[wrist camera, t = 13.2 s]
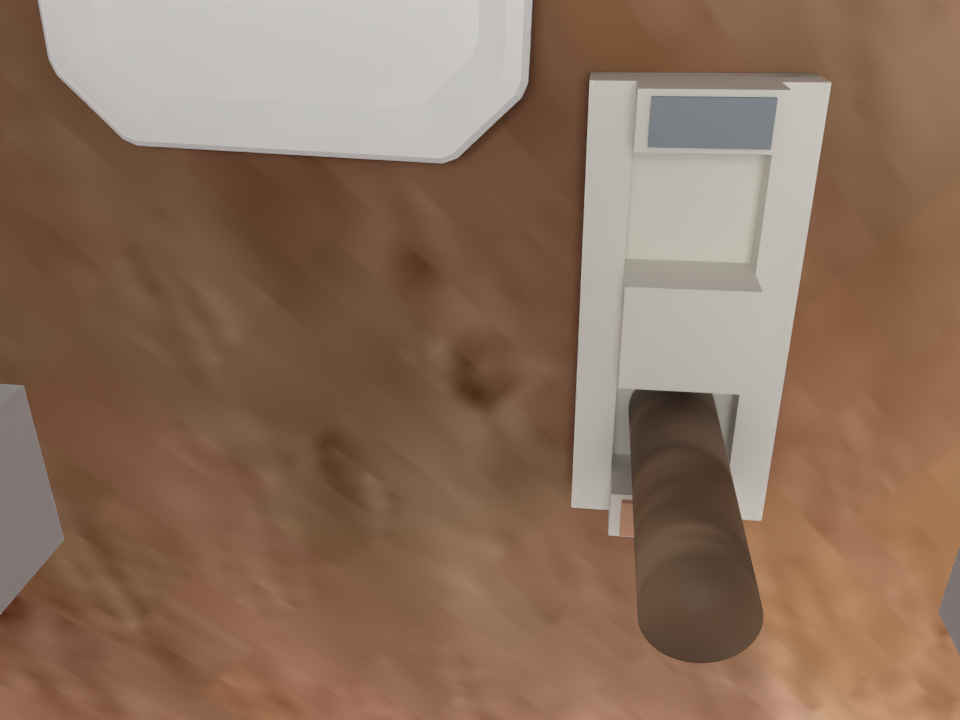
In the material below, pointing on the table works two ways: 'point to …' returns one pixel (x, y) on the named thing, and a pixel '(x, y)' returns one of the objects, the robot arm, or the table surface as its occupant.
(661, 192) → the socket block
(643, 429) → the dowel
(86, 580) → the table surface
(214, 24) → the plate
